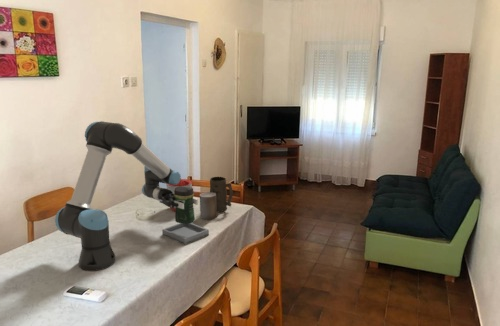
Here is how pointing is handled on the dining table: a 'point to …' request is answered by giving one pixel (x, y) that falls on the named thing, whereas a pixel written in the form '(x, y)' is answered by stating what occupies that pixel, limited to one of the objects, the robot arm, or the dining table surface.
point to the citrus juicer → (181, 183)
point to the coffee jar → (186, 198)
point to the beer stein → (221, 192)
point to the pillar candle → (208, 205)
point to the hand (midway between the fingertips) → (190, 204)
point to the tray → (185, 232)
